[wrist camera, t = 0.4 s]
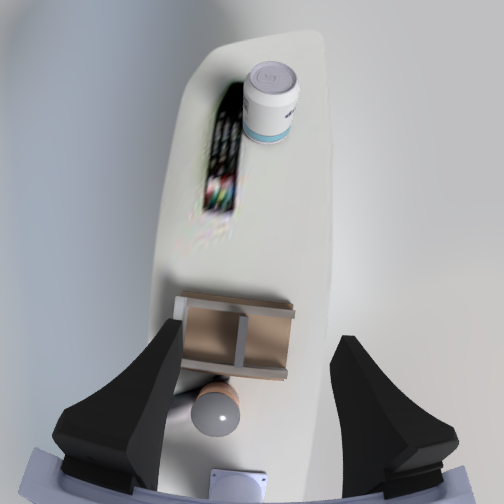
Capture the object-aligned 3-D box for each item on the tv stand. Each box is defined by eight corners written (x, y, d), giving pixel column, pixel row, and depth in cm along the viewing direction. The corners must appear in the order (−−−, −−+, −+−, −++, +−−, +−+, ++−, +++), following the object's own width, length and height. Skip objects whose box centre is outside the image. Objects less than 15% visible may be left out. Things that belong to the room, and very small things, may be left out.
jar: (237, 421, 37) (237, 439, 31) (195, 416, 37) (189, 433, 31) (241, 383, 38) (242, 396, 32) (199, 378, 38) (192, 390, 32)
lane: (282, 379, 38) (288, 388, 33) (175, 366, 38) (167, 374, 33) (291, 304, 40) (299, 304, 35) (184, 291, 39) (176, 289, 35)
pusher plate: (242, 362, 37) (242, 368, 33) (234, 361, 37) (233, 367, 33) (247, 315, 38) (248, 317, 34) (239, 314, 38) (239, 316, 34)
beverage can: (283, 152, 43) (297, 105, 31) (237, 141, 43) (236, 90, 31) (292, 116, 44) (307, 65, 33) (249, 105, 44) (252, 53, 33)
